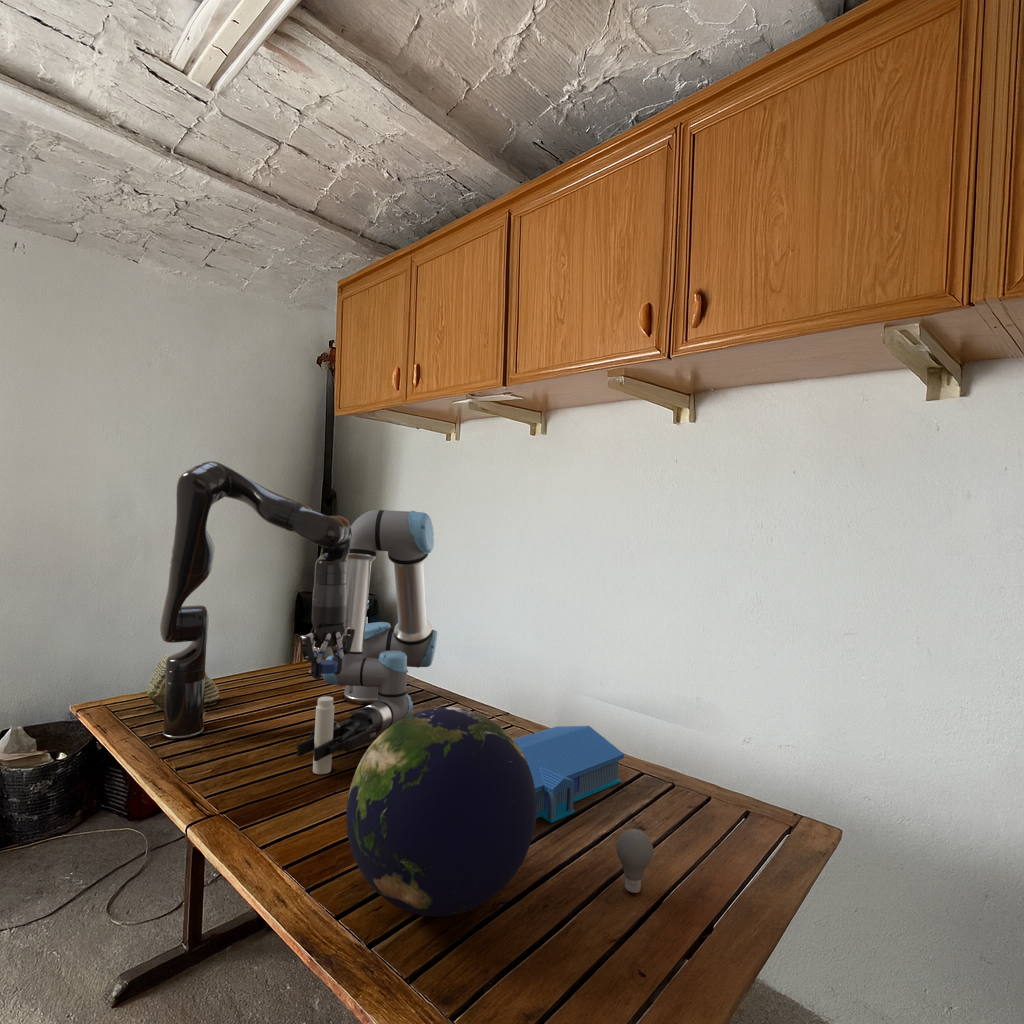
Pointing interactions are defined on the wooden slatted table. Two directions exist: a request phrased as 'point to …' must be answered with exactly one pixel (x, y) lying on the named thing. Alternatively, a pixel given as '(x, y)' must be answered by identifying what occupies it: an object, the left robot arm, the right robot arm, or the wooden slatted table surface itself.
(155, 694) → the fossil
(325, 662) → the lid
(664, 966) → the wooden slatted table surface
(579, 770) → the model building
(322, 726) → the white tube
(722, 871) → the wooden slatted table surface
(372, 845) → the globe
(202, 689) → the left robot arm
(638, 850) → the light bulb
